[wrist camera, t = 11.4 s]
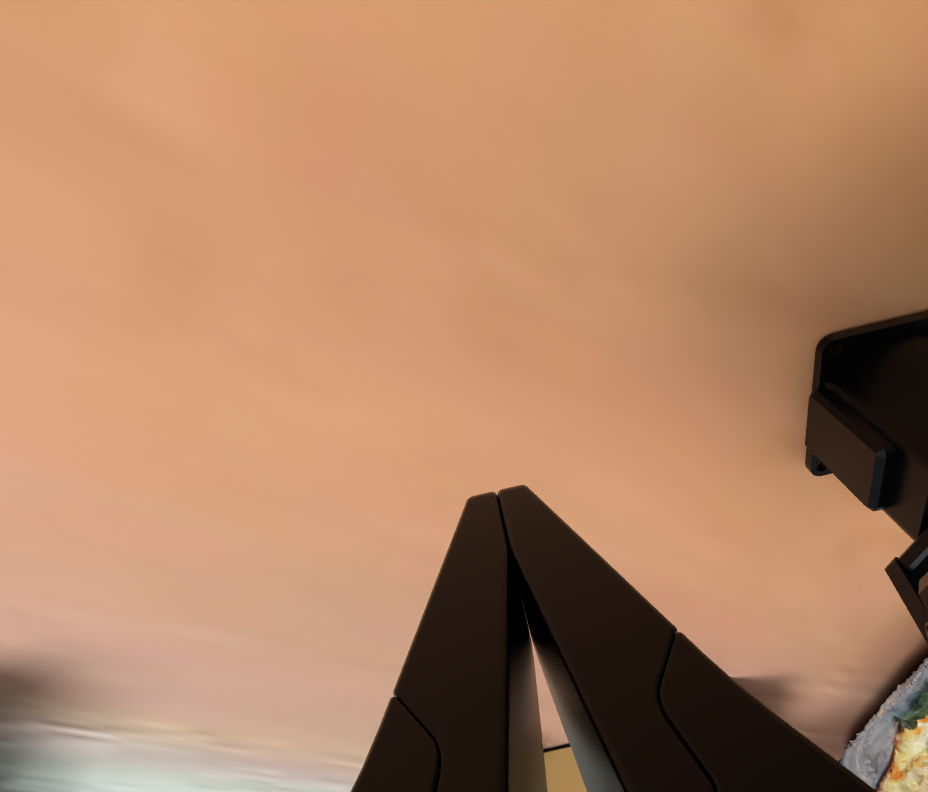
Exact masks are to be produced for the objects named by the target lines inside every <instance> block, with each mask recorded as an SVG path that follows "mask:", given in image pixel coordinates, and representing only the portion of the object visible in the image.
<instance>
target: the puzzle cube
mask: <svg viewBox="0 0 928 792" xmlns="http://www.w3.org/2000/svg"><path fill="white" fill-rule="evenodd" d="M543 752H544V762H545V771H546V781H547V790H548V792H587V790H586V787H585V784H584V782H583V779H582V776H581V774H580V771H579V768H578V765H577V763H576V760H575V757H574V754H573V752H572V749H571V746H570V745H566V746H562V747H557V748H553V749H548V750H544V751H543Z"/></svg>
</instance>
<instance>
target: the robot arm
mask: <svg viewBox="0 0 928 792" xmlns="http://www.w3.org/2000/svg"><path fill="white" fill-rule="evenodd" d="M835 345H836V346H835ZM833 346H835V348H834V349H833V350H832V351H831V352H829V350H830V349H831V348H832V347H833ZM805 445H806V447H807V450H806V461H805V465H806V468H807V469H808V470H809V471H810V472H811V473H812V474H813V475H815V476H823V475H827V474H831V473H833V474H834V475H835V476H836V477H837V478H838V479H839V480H840V481H841V482H842V483H843V484H844V485H845V486H846V487H847V488H848V489H849V490H850V491H851V492H852V493H853V494H854V495H855V496H856V497H857V498H858V499H859V500H860V501H861V502H862V503H863V504H864V505H865V506H866V507H867V508H869V509H871V510H872V511H877V510H883V511H884V512H885V513H886V514H887V515H888V516H889V517H890V518H891V519H892V520H894V521H895V522H896V523H897V524H898V525H899V526H900V527H901V528H902V529H903V530H904V531H905V532H906V533H907V534H908V535H909V536H910V537H911V538H912V539H913V540H914V542H913V543H912V544H911V545H910V546H909V547H908V548H907V550H906V551H905V552H904V553H903V554H902V555H901V556H900V557H899V558H898V557H895V558H894V559H893V560H892V561H891V563H890V564H889V565H888V566H887V567H886V568H885V571H886V573H887V574H888V576H889V578H890V580H891V581H892V583H893V585H894V586H895V588H896V590H897V592H898V593H899V595H900V597H901V599H902V600H903V602H904V604H905V605H906V607H907V609H908V611H909V612H910V614H911V616H912V618H913V619H914V621H915V623H916V624H917V626H918V628H919V630H920V631H921V633H922V635H923V637H924V638H925V640H926V642H927V643H928V312H924V313H920V314H916V315H912V316H907V317H903V318H899V319H895V320H890V321H886V322H882V323H878V324H874V325H869V326H865V327H861V328H857V329H852V330H848V331H844V332H840V333H836V334H831V335H828V336H826V337H824V338H823V339H822V340H820V342H819V343H818V344H817V347H816V352H815V363H814V374H813V385H812V392H811V394H810V396H809V405H808V416H807V427H806V439H805ZM819 463H820V464H819ZM818 464H819V465H818ZM498 499H499V500H498ZM522 601H523V602H522ZM523 605H524V606H523ZM524 609H525V610H524ZM525 614H526V615H525ZM526 618H527V619H526ZM527 622H528V623H527ZM528 626H529V628H528ZM529 630H530V633H531V637H532V641H533V644H534V647H535V650H536V653H537V656H538V659H539V662H540V665H541V667H542V670H543V673H544V676H545V678H546V681H547V684H548V686H549V689H550V692H551V695H552V697H553V700H554V703H555V706H556V708H557V711H558V714H559V716H560V719H561V722H562V725H563V727H564V730H565V733H566V735H567V738H568V741H569V744H570V746H571V749H572V752H573V754H574V757H575V760H576V763H577V765H578V768H579V771H580V774H581V776H582V779H583V782H584V784H585V787H586V790H587V792H877V791H876V790H875V789H873V788H872V787H871V786H869V785H868V784H867V783H866V782H864V781H863V780H862V779H860V778H859V777H858V776H856V775H855V774H854V773H852V772H851V771H850V770H848V769H847V768H846V767H844V766H843V765H842V764H840V763H839V762H838V761H837V760H835V759H834V758H833V757H831V756H830V755H829V754H827V753H826V752H825V751H823V750H822V749H821V748H819V747H818V746H817V745H815V744H814V743H813V742H811V741H810V740H809V739H808V738H806V737H805V736H804V735H802V734H801V733H800V732H798V731H797V730H796V729H794V728H793V727H792V726H790V725H789V724H788V723H786V722H785V721H784V720H783V719H781V718H780V717H779V716H777V715H776V714H775V713H774V712H772V711H771V710H770V709H769V708H767V707H766V706H765V705H764V704H762V703H761V702H760V701H759V700H757V699H756V698H755V697H754V696H752V695H751V694H750V693H749V692H747V691H746V690H745V689H744V688H742V687H741V686H740V685H739V684H737V683H736V682H735V681H734V680H733V679H732V678H731V677H730V676H728V675H727V674H726V673H725V672H724V671H723V670H722V669H721V668H719V667H718V666H717V665H716V664H715V663H714V662H713V661H712V660H710V659H709V658H708V657H707V656H706V655H705V654H704V653H703V652H702V651H701V650H699V649H698V648H697V647H696V646H695V645H694V644H693V643H692V642H691V641H690V640H689V639H688V638H687V637H686V636H685V635H684V634H683V633H681V632H678V633H677V628H676V627H675V626H674V625H673V624H672V623H671V622H670V621H668V620H667V619H666V618H665V617H664V616H663V615H662V614H661V613H660V612H659V611H658V610H657V609H656V608H655V607H654V606H653V605H652V604H651V603H649V602H648V601H647V600H646V599H645V598H644V597H643V596H642V595H641V594H640V593H639V592H638V591H637V590H636V589H635V588H634V587H633V586H632V585H630V584H629V583H628V582H627V581H626V580H625V579H624V578H623V577H622V576H621V575H620V574H619V573H618V572H617V571H616V570H615V569H614V568H613V567H611V566H610V565H609V564H608V563H607V562H606V561H605V560H604V559H603V558H602V557H601V556H600V555H599V554H598V553H597V552H596V551H595V550H594V549H592V548H591V547H590V546H589V545H588V544H587V543H586V542H585V541H584V540H583V539H582V538H581V537H580V536H579V535H578V534H577V533H576V532H575V531H573V530H572V529H571V528H570V527H569V526H568V525H567V524H566V523H565V522H564V521H563V520H562V519H561V518H560V517H559V516H558V515H557V514H556V513H554V512H553V511H552V510H551V509H550V508H549V507H548V506H547V505H546V504H545V503H544V502H543V501H542V500H541V499H540V498H539V497H538V496H537V495H535V494H534V493H533V492H532V491H531V490H530V489H529V488H528V487H527V486H525V485H519V486H514V487H510V488H506V489H502V490H500V491H499V492H498V496H497V494H496V493H495V492H489V493H484V494H480V495H476V496H472V497H470V498H469V499H468V500H467V502H466V505H465V507H464V510H463V512H462V515H461V517H460V520H459V523H458V525H457V528H456V530H455V533H454V536H453V538H452V541H451V543H450V546H449V549H448V551H447V554H446V556H445V559H444V562H443V564H442V567H441V569H440V572H439V575H438V577H437V580H436V582H435V585H434V588H433V590H432V593H431V595H430V598H429V600H428V603H427V606H426V608H425V611H424V613H423V616H422V619H421V621H420V624H419V626H418V629H417V632H416V634H415V637H414V639H413V642H412V645H411V647H410V650H409V652H408V655H407V658H406V660H405V663H404V665H403V668H402V671H401V673H400V676H399V678H398V681H397V683H396V686H395V689H394V691H393V695H394V697H392V698H391V699H390V701H389V703H388V706H387V709H386V711H385V714H384V717H383V719H382V722H381V724H380V727H379V729H378V732H377V734H376V736H375V739H374V741H373V744H372V746H371V748H370V751H369V753H368V755H367V758H366V760H365V763H364V765H363V767H362V770H361V772H360V774H359V776H358V778H357V780H356V782H355V784H354V786H353V788H352V790H351V792H548V790H547V781H546V771H545V762H544V752H543V743H542V733H541V723H540V714H539V704H538V695H537V685H536V676H535V666H534V657H533V650H532V643H531V638H530V633H529Z"/></svg>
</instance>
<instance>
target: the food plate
mask: <svg viewBox="0 0 928 792" xmlns="http://www.w3.org/2000/svg"><path fill="white" fill-rule="evenodd" d="M923 661H924V663H922V664H921V665H920V666H919V668H918V670H917V671H914V672H913V674H912V676H910V678H909V679H907V678H906V679H907V681H905V682H904V683H902V684H901V685H898V687H897V690H896V691H894V692H892V694H891V695H890V696H889V698H888V699H886V701H885V703H884V704H882V705H881V707H880V710H879V712H878V713H877V715H875V714H874V716H873V717H872V719H869V722H868V724H867V725H866V726H865V729H864V730H863V731H861V732H860V733H859V734H856V735H858V736H857V738H856V739H855V740H854V741H850V743H851V744H853V745H850V744H848V746H847V748H846V749H847V750H845V754H844V755H843V757H842V758H841V759H842V760H841V759H840V760H839V763H840V764H842V765H843V766H844V767H846V768H847V769H848V770H850V771H851V772H852V773H854V774H855V775H856V776H858V777H859V778H860V779H862V780H863V781H864V782H866V783H867V784H868V785H869V786H871V787H872V788H873V789H875V790H876V791H877V792H928V658H926V660H925V659H924V660H923Z"/></svg>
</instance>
